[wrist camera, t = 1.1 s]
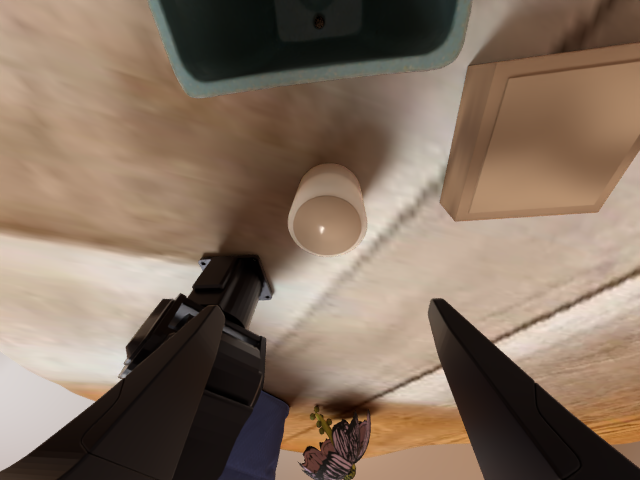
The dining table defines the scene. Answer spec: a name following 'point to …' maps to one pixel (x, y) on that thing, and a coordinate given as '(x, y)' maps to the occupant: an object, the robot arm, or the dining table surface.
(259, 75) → the flower pot
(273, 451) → the lunch bag
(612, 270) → the dining table surface
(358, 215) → the jar
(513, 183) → the stand
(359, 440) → the decorative flower
